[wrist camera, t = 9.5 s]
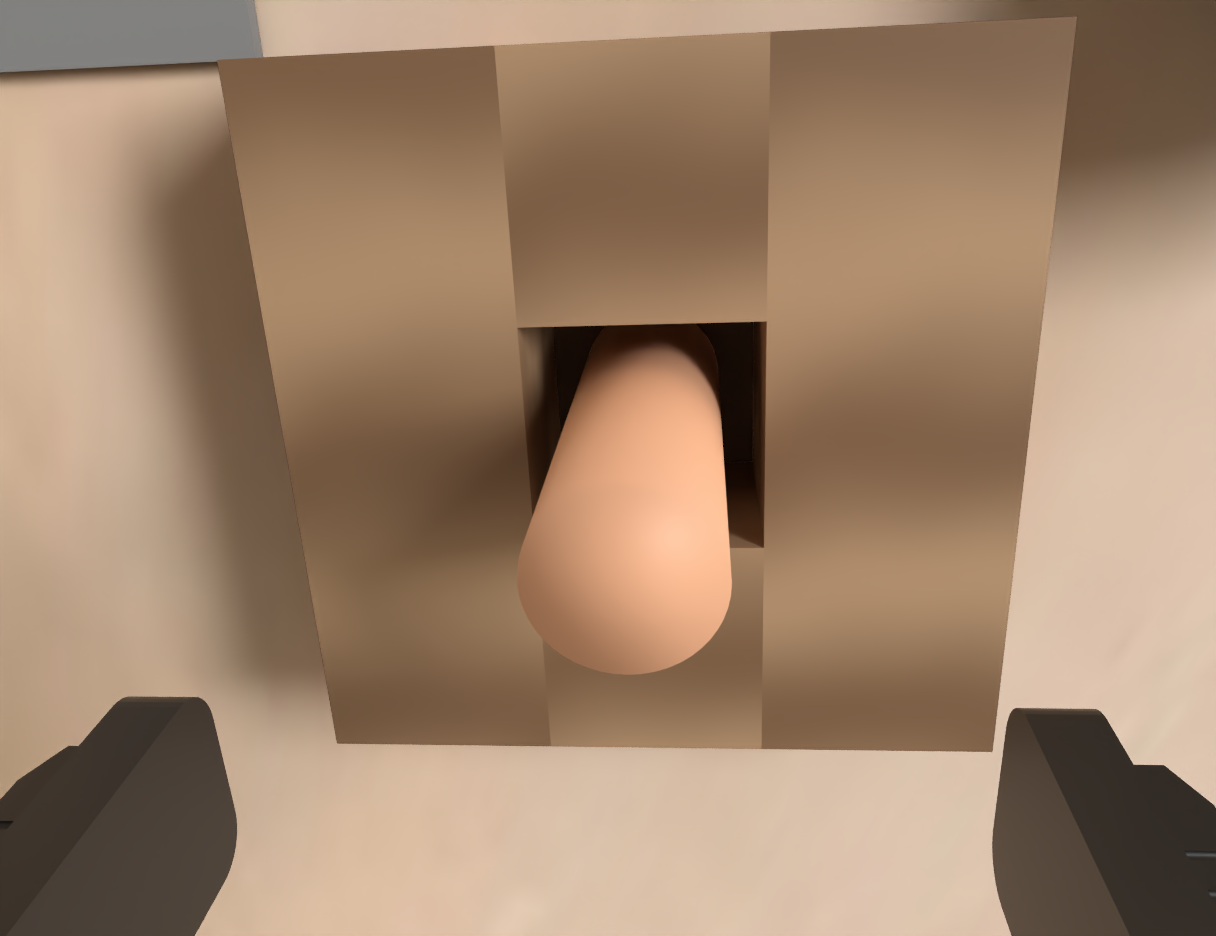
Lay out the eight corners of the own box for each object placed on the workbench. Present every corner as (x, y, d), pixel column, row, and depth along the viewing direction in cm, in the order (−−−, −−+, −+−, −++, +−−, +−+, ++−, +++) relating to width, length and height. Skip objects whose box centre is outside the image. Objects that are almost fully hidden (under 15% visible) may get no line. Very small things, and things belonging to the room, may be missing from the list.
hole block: (309, 56, 22) (217, 60, 17) (999, 22, 20) (1077, 16, 16) (392, 635, 27) (337, 743, 23) (944, 636, 26) (992, 751, 21)
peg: (583, 309, 23) (508, 485, 14) (717, 306, 23) (731, 483, 14) (590, 435, 24) (525, 674, 15) (718, 433, 24) (732, 675, 15)
